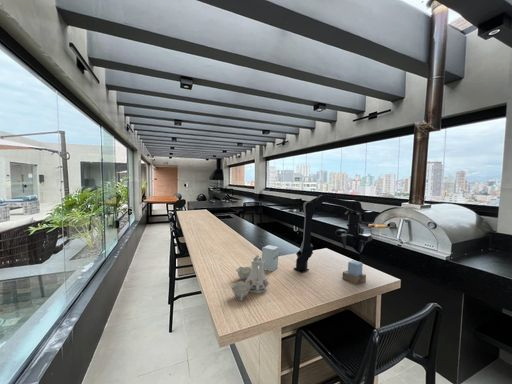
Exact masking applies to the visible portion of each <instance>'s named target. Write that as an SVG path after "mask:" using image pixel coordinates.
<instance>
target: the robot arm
mask: <svg viewBox="0 0 512 384" xmlns="http://www.w3.org/2000/svg"><path fill="white" fill-rule="evenodd" d="M324 203H327V204H330V205H334V206H335V205H336V206H340V207H343V208H345V209H347V211H345V212H344V215H347V216H348V218H347V219H348V220H347V221H348V222H347V224H346V226H347V229H343V228H342V229H341V228H340V229H336V231H335V235H336V236H337V237H338V238H339V240H340V242H341V244H342V247H343V249H346V247H347V236H349V237H353V238H357V239H359V241H358V242H359V243H358V244H359V248H358V249H359V251H358V252H359V253H362V251H363V249H364V247H365V245H366V243H369V242H370V241H373V236H372V234H368V233H364V232H365V229H364V228H362V227H361V224H374V223H375V219H376V218H375V215H374V211H370V210H369V211H365V210H364V208H363V207H362V204H361V202H360V201H357V200H350V199H340V198H335V197H332V196H326V195H324V194H320V195H318V196H316V197H315V198H313V199H311V200H307V201H305V202H304V203H303V205H302V206H303V215H304V221H303V236H302V238H303V239H302V242H301V245H300V248H299V250H298V251H297V252H296V254H295V255H296V257H297V258H296V259H295V267H293V270H295V271H297V272H300V273H302V274H303V273H306V272H308V271H310V269H309V268H308V261H309V259H310V258H311V257H312V255H313V254H314V252H313V251H314V246H313V243H311V237H312V223H313V217H314V214H315V211H316V208H319V206H321V204H324ZM360 223H361V224H360Z"/></svg>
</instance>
